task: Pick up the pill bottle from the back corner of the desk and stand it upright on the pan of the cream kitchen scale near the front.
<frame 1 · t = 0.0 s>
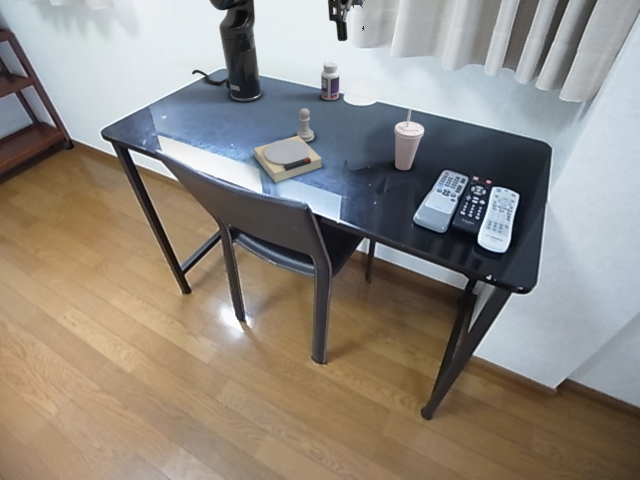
hand: (351, 35, 86), 22 cm above the table, tool pointing down, fingers open, 8 cm apart
chess piece: (305, 138, 98), on the table
scale: (287, 162, 89), on the table
smoothie: (402, 166, 88), on the table
pill bottle: (330, 97, 115), on the table
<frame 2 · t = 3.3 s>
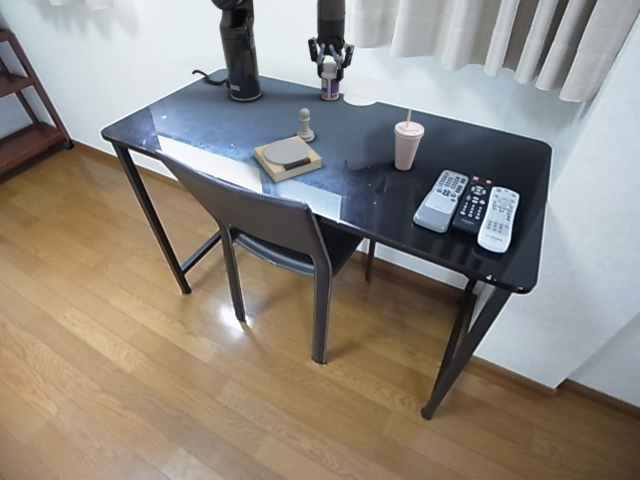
hand: (330, 79, 111), 5 cm above the table, tool pointing down, fingers closed on pill bottle, 5 cm apart
pill bottle: (330, 97, 115), on the table, touching gripper
everything else where it was.
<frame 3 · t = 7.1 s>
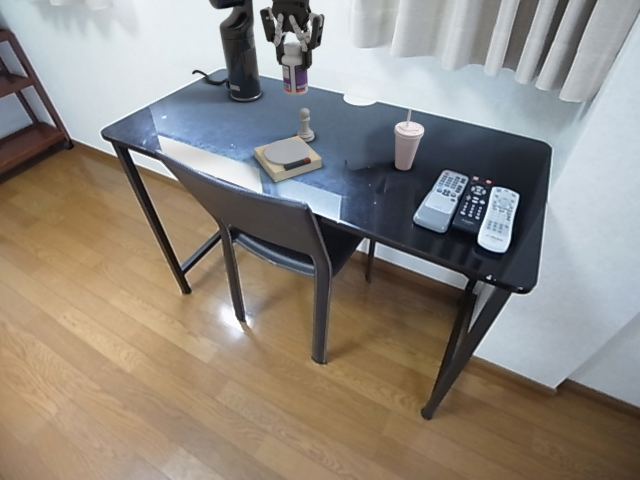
hand: (294, 66, 80), 20 cm above the table, tool pointing down, fingers closed on pill bottle, 5 cm apart
pill bottle: (296, 92, 84), point 14 cm above the table, touching gripper
everything else where it was.
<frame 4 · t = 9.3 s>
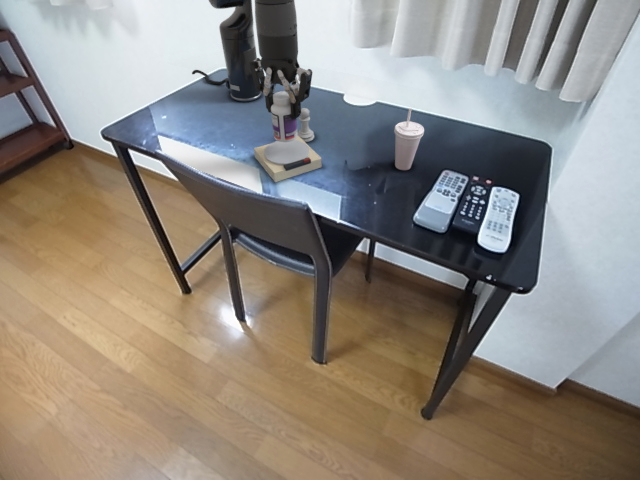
hand: (283, 114, 81), 12 cm above the table, tool pointing down, fingers closed on pill bottle, 5 cm apart
pill bottle: (285, 137, 85), point 6 cm above the table, touching gripper
everything else where it was.
when the fingers open (9 cm above the table, at t = 10.7 s): pill bottle stays where it is, resting on scale.
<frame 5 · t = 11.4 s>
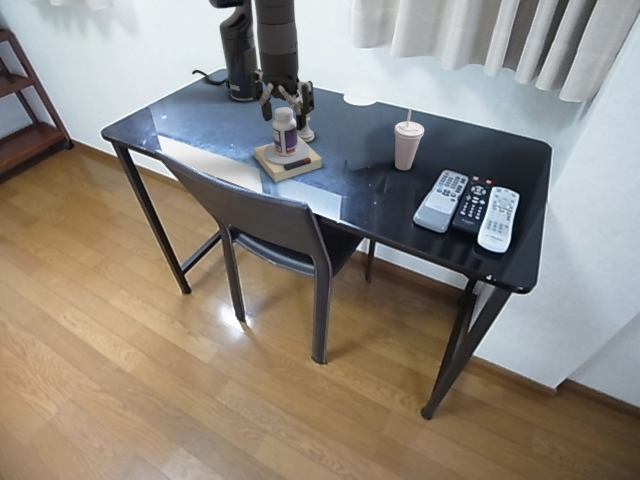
hand: (284, 124, 82), 10 cm above the table, tool pointing down, fingers open, 8 cm apart
pill bottle: (286, 151, 87), point 3 cm above the table, touching scale
everything else where it was.
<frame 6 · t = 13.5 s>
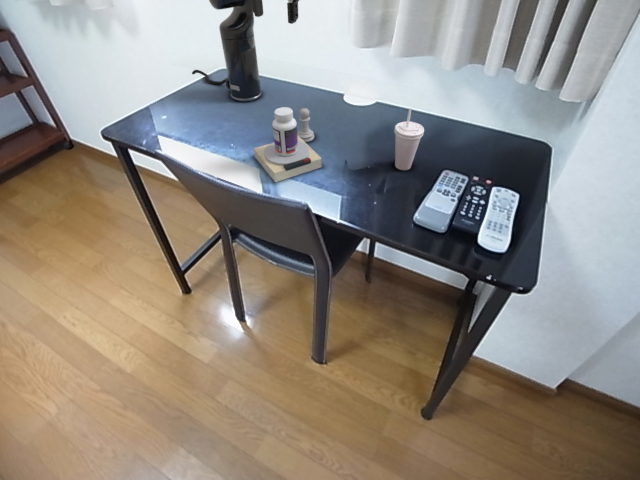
hand: (275, 19, 78), 27 cm above the table, tool pointing down, fingers open, 8 cm apart
nothing on the table moved.
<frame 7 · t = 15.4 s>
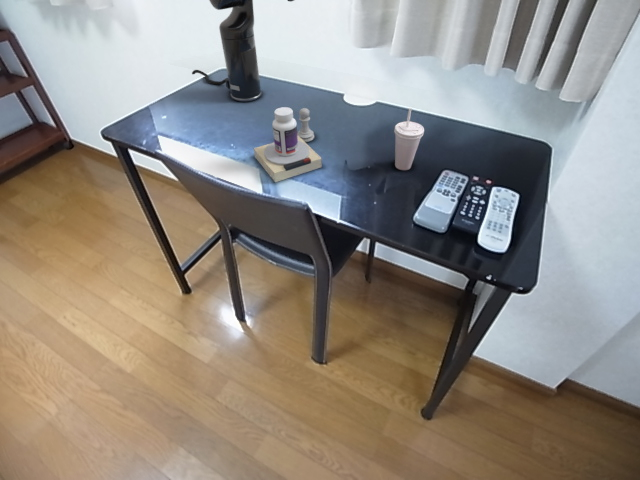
nothing on the table moved.
at the end: pill bottle inside the target area on the scale (0.1 cm from its centre), point 2.9 cm above the scale's base; pill bottle tilted 0°; the gripper is holding nothing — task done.
